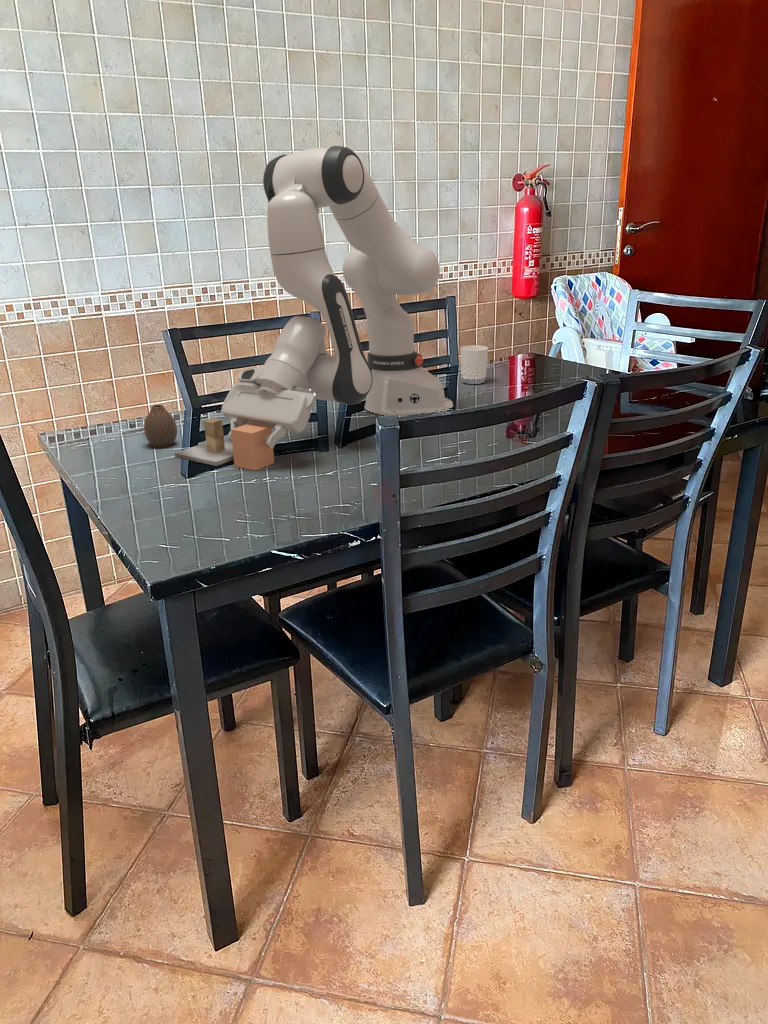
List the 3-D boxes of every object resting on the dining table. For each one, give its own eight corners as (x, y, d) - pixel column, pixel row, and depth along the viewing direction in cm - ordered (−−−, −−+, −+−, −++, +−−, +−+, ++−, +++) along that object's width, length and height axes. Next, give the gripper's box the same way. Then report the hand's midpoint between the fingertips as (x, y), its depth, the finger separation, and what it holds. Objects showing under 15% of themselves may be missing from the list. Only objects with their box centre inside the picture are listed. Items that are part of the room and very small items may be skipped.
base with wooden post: (216, 442, 166) (213, 410, 163) (257, 450, 160) (254, 417, 157) (175, 456, 157) (170, 423, 154) (216, 465, 150) (212, 431, 148)
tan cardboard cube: (253, 458, 154) (250, 422, 152) (274, 462, 151) (271, 426, 149) (234, 466, 150) (230, 429, 147) (255, 470, 147) (252, 433, 144)
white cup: (457, 380, 220) (457, 346, 216) (483, 379, 221) (484, 345, 217) (462, 386, 213) (463, 350, 209) (490, 385, 213) (491, 349, 210)
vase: (157, 451, 160) (151, 411, 157) (140, 445, 165) (134, 406, 162) (185, 444, 165) (180, 405, 162) (167, 438, 170) (162, 400, 166)
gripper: (326, 398, 150) (298, 458, 146) (250, 388, 160) (222, 443, 156) (311, 380, 144) (281, 442, 141) (234, 370, 155) (204, 427, 151)
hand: (249, 442), depth 148 cm, fingers open, 8 cm apart
